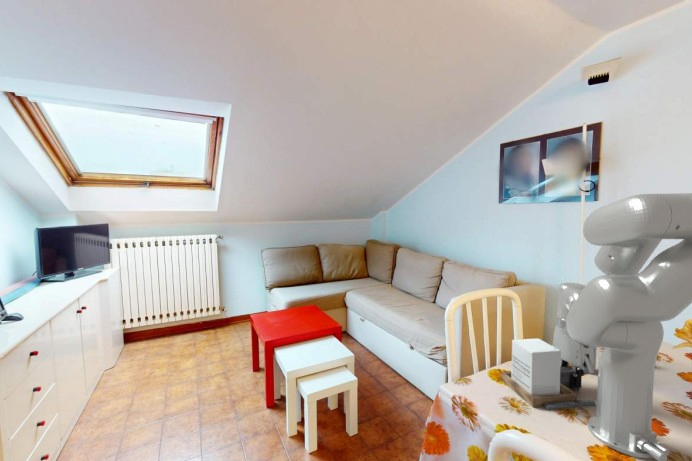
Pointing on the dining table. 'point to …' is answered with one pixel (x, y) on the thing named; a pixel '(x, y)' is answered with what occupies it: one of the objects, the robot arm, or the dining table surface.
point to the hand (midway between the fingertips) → (569, 383)
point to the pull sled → (539, 401)
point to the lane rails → (569, 404)
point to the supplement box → (536, 366)
